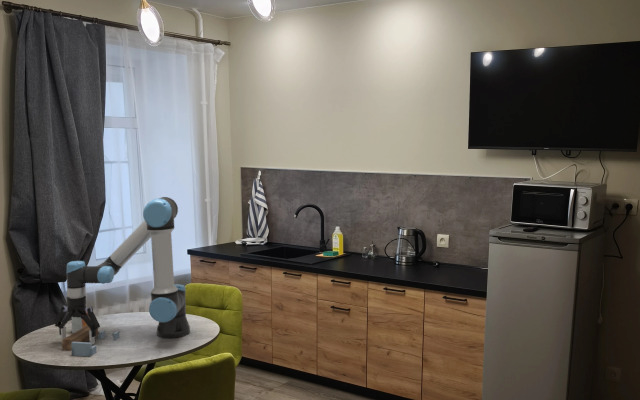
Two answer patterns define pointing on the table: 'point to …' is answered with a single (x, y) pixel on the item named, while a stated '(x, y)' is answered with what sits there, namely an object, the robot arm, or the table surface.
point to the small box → (78, 323)
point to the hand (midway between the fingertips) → (77, 343)
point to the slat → (76, 338)
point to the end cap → (83, 349)
